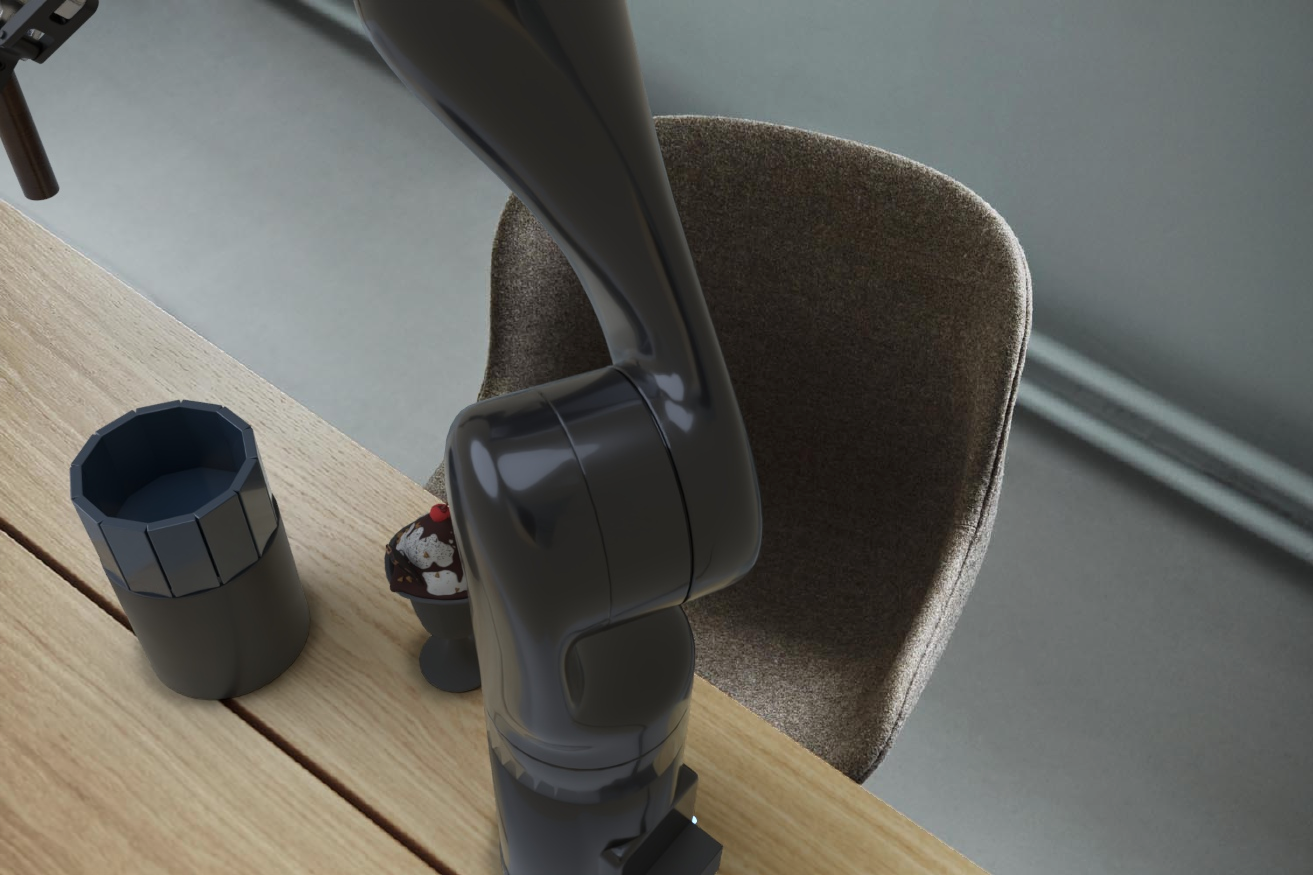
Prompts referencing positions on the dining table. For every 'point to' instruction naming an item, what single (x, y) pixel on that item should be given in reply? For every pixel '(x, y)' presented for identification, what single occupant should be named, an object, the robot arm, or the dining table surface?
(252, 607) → the stand
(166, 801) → the dining table surface
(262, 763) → the dining table surface
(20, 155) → the stick
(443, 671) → the sundae
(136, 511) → the bowl
